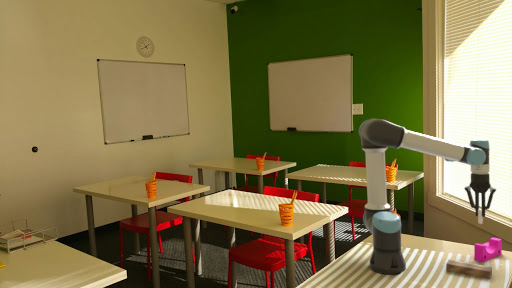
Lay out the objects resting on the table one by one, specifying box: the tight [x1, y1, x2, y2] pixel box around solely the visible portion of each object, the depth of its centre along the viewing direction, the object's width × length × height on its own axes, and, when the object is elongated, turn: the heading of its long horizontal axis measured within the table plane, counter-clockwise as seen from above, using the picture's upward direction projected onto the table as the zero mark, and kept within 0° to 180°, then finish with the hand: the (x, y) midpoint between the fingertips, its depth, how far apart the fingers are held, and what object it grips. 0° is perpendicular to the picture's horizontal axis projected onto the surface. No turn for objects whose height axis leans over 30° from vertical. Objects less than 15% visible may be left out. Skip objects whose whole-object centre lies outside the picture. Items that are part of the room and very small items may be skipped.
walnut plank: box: [445, 259, 493, 280], centre depth 165 cm, size 16×5×3 cm, turn 52°
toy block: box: [473, 237, 503, 263], centre depth 181 cm, size 15×6×8 cm, turn 121°
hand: (480, 223), depth 186 cm, fingers closed
